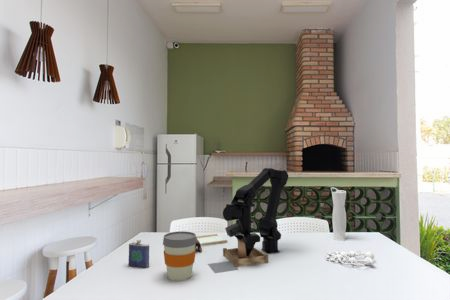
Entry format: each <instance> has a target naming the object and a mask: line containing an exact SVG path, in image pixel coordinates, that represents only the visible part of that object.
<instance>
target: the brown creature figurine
mask: <svg viewBox="0 0 450 300" xmlns="http://www.w3.org/2000/svg"><path fill="white" fill-rule="evenodd" d="M196 248H197V250H199V252H200V253H201V254H202V252H203V249H202V246H201V244H200V242H199V241H198V240H197V238H196V244H195V249H196Z"/></svg>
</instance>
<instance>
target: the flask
mask: <svg viewBox="0 0 450 300" xmlns="http://www.w3.org/2000/svg"><path fill="white" fill-rule="evenodd" d="M128 267H131V268H138V269H139V268H140V269H141V268H142V269H147V268H149V267H150V244H148V243H142V240H141V239H137V240H136V242H135V241H134V242H130V243H129V244H128Z"/></svg>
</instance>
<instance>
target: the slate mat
mask: <svg viewBox="0 0 450 300" xmlns="http://www.w3.org/2000/svg"><path fill="white" fill-rule="evenodd" d="M207 265H208V266H209V268H210V269H211V271H212V272H213V273H214V274H218V273H225V272H226V273H227V272H233V271H239V270H240V269H239V267H235V266H234V264H232V263H231V262H230V261H229V260H227V261H221V262H213V263H207Z"/></svg>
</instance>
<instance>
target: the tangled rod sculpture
mask: <svg viewBox="0 0 450 300" xmlns="http://www.w3.org/2000/svg"><path fill="white" fill-rule="evenodd" d="M334 254H335V255H334ZM358 256H364V259H356V257H358ZM324 257H325V260H326V261H329V262H331V263H333V262H338V263H341V264H343V265H346V266H348V265H351V266H357V267H361V266H365V265H366V266H372V265H374V264H375V261H374V259H375V256H374V253H373V252H371V251H366V252H362V251H361V249H359V250H356V251H353V250H351V251H348V252H346V251H341V252H339V251H337V250H336V251H332V252H331V251H329V252H326V253H325V254H324ZM347 262H348V263H347ZM358 263H362V264H358Z"/></svg>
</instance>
